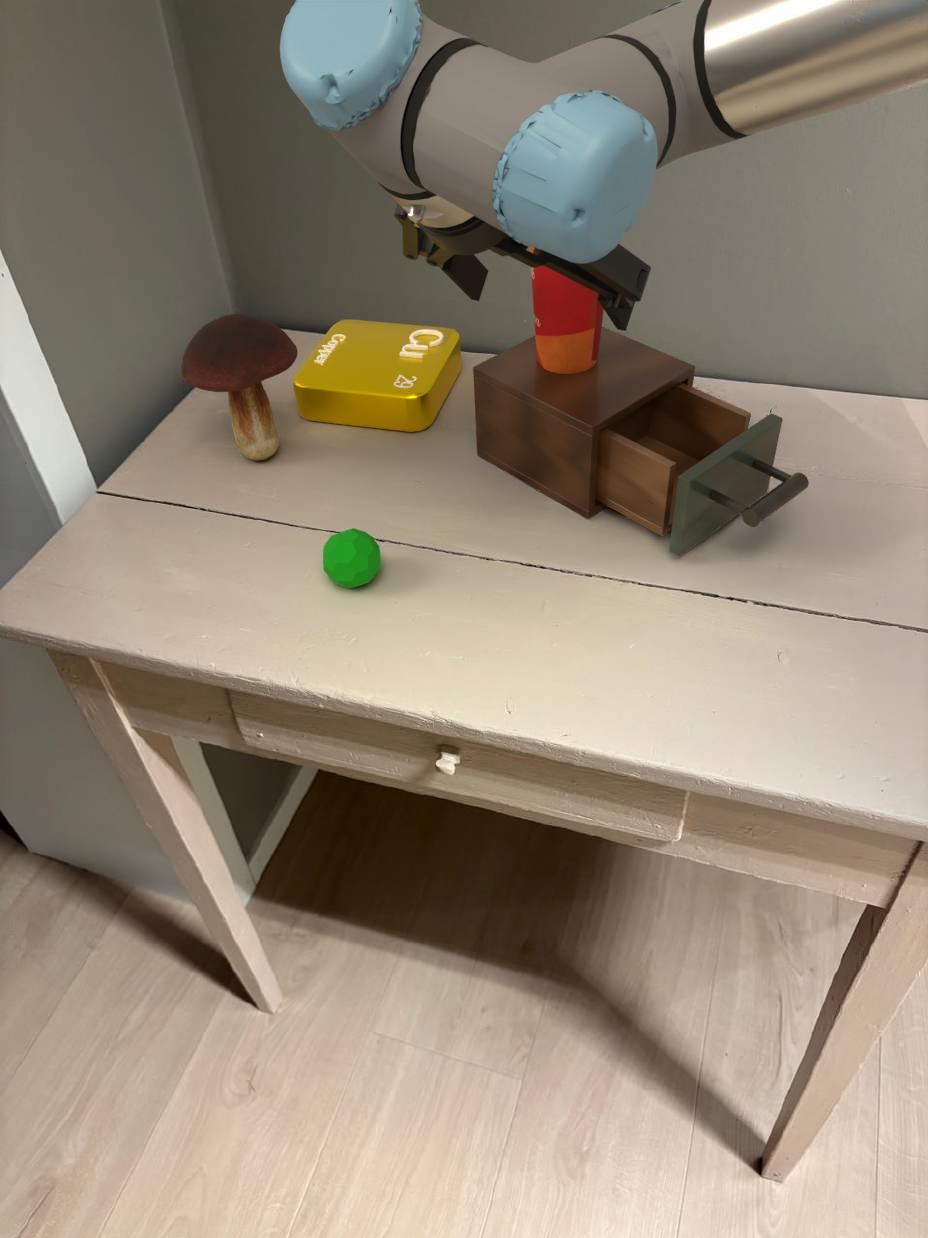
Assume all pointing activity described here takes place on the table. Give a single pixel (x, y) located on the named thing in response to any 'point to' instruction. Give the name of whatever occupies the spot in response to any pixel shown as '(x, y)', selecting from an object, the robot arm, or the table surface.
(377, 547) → the polyhedron
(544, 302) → the paper cup
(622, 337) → the cabinet
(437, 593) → the table surface
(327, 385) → the element tile
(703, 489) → the drawer
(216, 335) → the decorative mushroom
